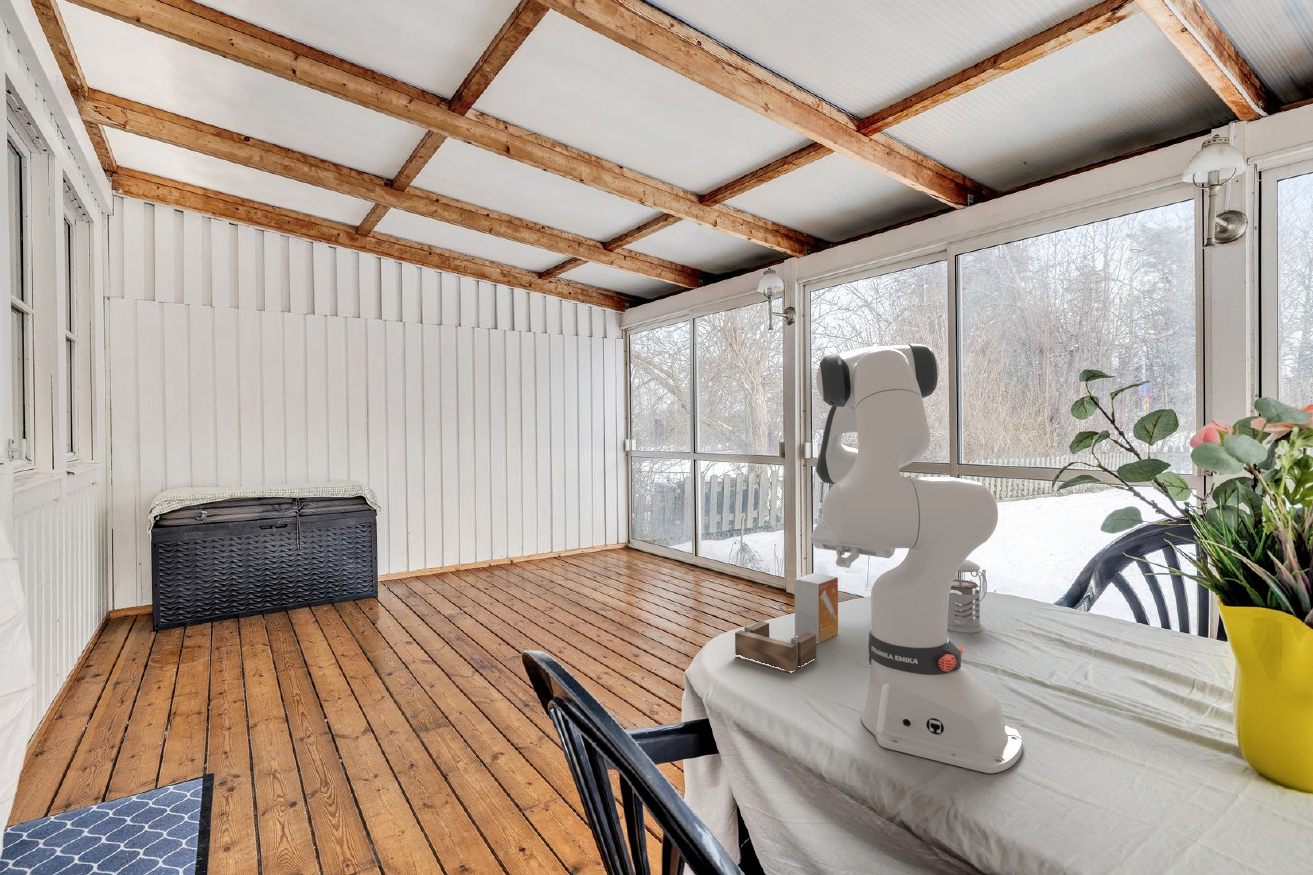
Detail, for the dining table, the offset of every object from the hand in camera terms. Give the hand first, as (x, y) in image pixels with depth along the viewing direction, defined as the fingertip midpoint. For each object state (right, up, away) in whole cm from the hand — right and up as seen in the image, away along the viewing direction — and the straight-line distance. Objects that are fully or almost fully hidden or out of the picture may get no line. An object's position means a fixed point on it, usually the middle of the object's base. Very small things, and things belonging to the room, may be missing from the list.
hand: (842, 565), depth 150 cm
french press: (+27, -13, -3) cm, 30 cm away
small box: (-8, -14, -9) cm, 18 cm away
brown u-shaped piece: (-20, -15, -21) cm, 32 cm away
